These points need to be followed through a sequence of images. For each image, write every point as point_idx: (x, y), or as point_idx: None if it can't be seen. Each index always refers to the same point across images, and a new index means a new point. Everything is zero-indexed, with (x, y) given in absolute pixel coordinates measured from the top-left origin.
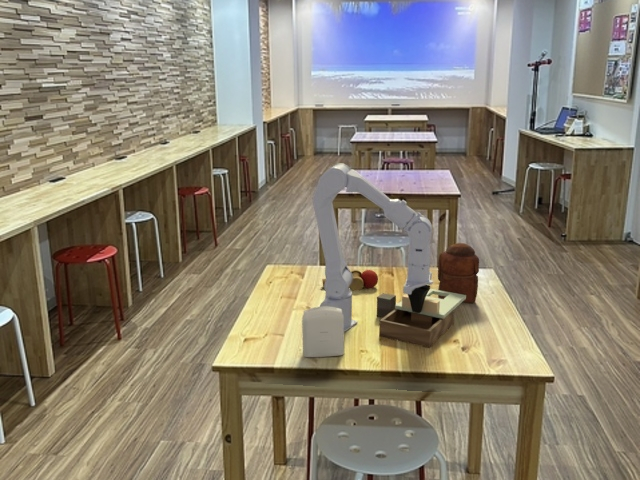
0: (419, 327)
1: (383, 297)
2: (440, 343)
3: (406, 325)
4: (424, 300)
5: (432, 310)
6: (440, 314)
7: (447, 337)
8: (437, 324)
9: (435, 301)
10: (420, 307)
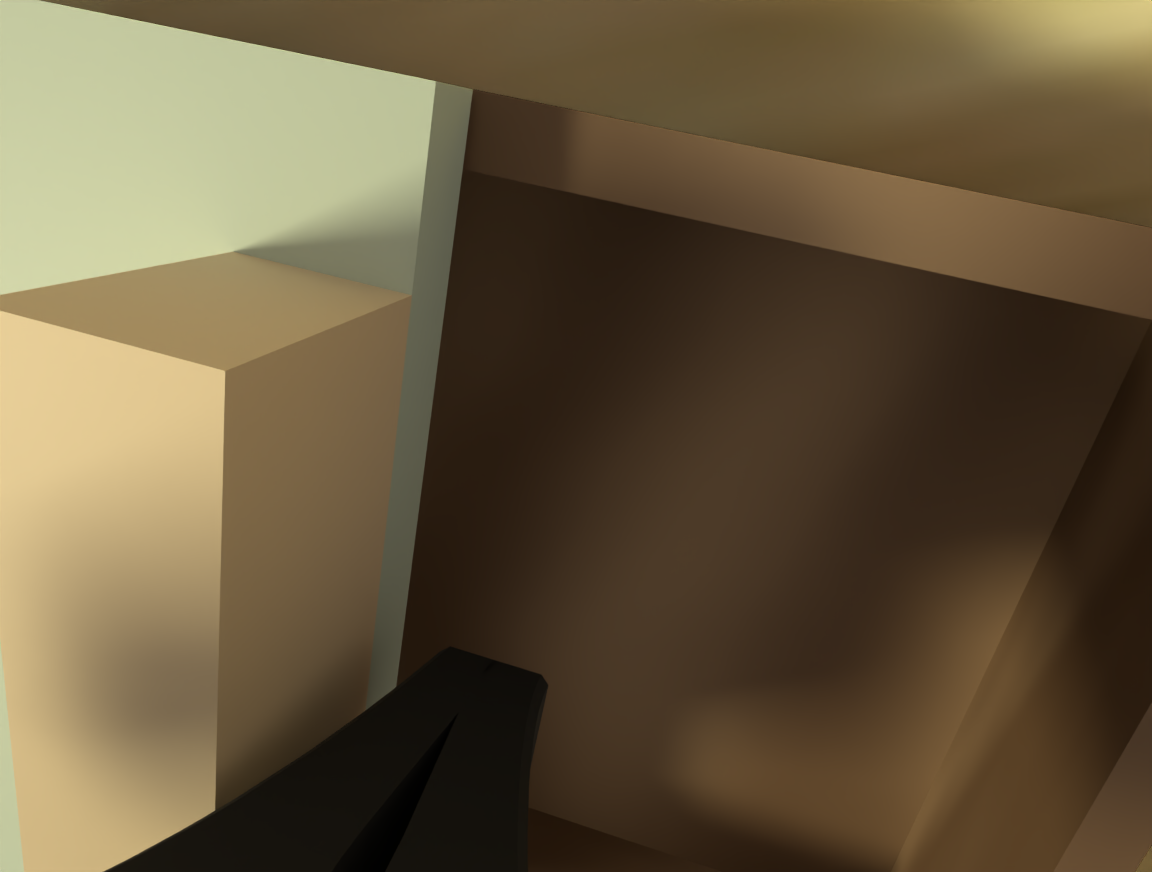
0: (511, 502)
1: None
2: (954, 78)
3: (1115, 828)
4: (248, 797)
5: (369, 423)
6: (417, 184)
7: (644, 4)
8: (896, 178)
9: (104, 446)
10: (527, 771)
